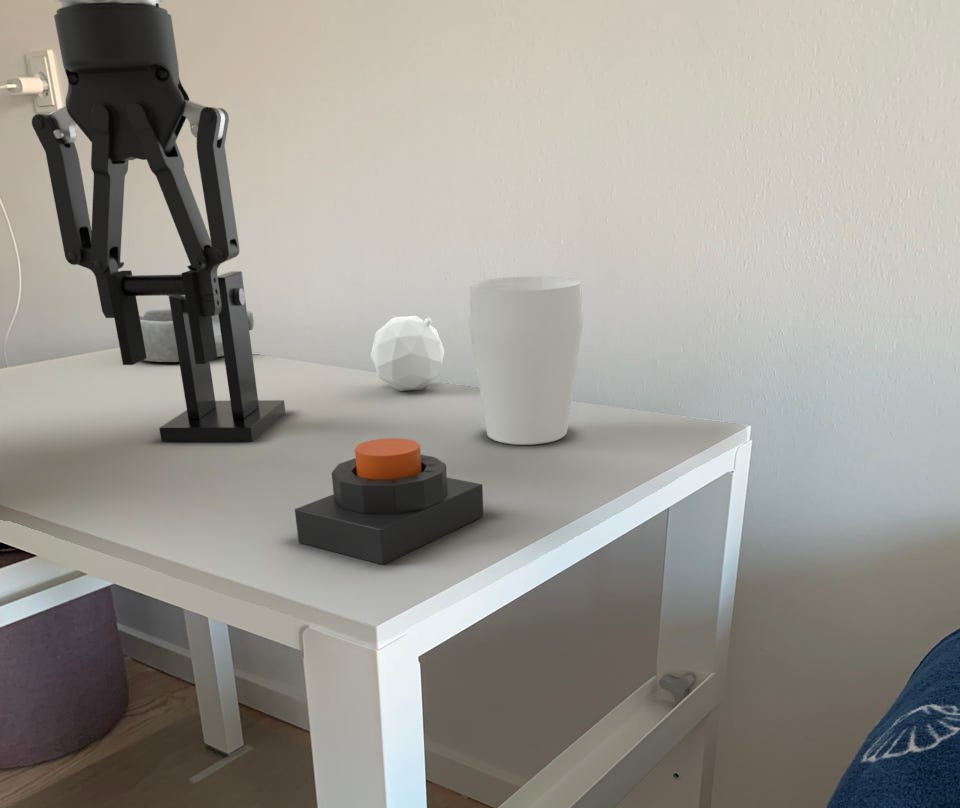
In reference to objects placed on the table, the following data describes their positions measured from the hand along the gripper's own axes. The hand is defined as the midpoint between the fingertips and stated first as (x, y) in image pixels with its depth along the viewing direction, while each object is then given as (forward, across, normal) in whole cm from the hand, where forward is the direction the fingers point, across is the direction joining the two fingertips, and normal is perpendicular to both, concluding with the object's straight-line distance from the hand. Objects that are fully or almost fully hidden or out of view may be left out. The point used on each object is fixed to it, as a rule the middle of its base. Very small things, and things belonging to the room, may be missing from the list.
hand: (170, 360), depth 77 cm
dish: (+8, +17, -45) cm, 48 cm away
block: (+8, -20, +16) cm, 27 cm away
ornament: (+8, -14, -25) cm, 29 cm away
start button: (+4, -20, +16) cm, 26 cm away
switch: (-3, 0, -5) cm, 6 cm away
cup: (+8, -27, -7) cm, 29 cm away
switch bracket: (+8, 0, -10) cm, 12 cm away
